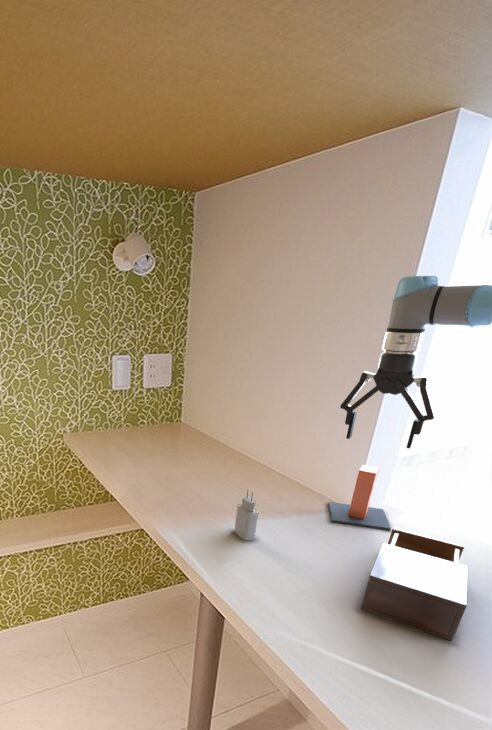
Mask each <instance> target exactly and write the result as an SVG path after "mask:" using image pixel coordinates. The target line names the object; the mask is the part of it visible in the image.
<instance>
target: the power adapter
mask: <svg viewBox="0 0 492 730" xmlns="http://www.w3.org/2000/svg"><path fill="white" fill-rule="evenodd" d="M249 490H250V489H249V488H247V490H246V491H247V492H246V495H243V496H242V499H241V503H239V504H237V506H236V507H237V508H236V516H235V523H234V533H235V534H236V535H238V537H240V538H241V539H242V540H244V541H253V540H255V538H256V533H257V532H256V531H257V525H258V518H259V511H258V509H256V503H257V500H255V499H254V498H253V497H254V491H251V496H249Z"/></svg>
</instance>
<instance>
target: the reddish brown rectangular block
mask: <svg viewBox="0 0 492 730" xmlns="http://www.w3.org/2000/svg"><path fill="white" fill-rule="evenodd" d="M379 471H380V468H379V467H376V466H370V465H366V464H362V465H361V467H360V469H358V473H357V477H356V480H355V485H354V489H353V492H352V493H353V494H352V497H351V501H350V504H349V505H350V509H349V513H348V516H352V517H356V518H360V519H365V517H366V515H367V513H368V509H369V507H371V501H372V497H373V494H374V491H375V487H376V483H377V479H378V476H379Z"/></svg>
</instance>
